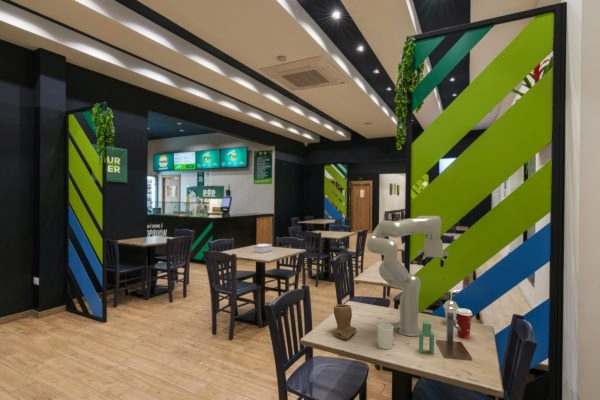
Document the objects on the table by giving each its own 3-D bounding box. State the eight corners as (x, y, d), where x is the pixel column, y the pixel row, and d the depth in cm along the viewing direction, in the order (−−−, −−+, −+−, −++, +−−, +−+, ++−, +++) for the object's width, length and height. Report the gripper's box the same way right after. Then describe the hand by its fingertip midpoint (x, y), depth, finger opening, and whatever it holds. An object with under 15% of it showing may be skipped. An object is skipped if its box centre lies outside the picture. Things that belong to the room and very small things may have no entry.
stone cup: (339, 326, 183) (339, 300, 183) (358, 331, 177) (359, 304, 176) (326, 336, 170) (326, 307, 170) (347, 342, 164) (347, 312, 164)
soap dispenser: (443, 320, 194) (443, 287, 193) (459, 323, 190) (460, 289, 189) (442, 325, 186) (443, 290, 186) (459, 328, 182) (460, 293, 182)
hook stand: (444, 358, 148) (445, 324, 148) (435, 342, 165) (436, 310, 165) (472, 361, 146) (473, 326, 146) (461, 344, 163) (462, 312, 162)
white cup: (383, 351, 155) (383, 330, 154) (373, 344, 162) (373, 324, 162) (396, 348, 158) (397, 328, 158) (386, 341, 165) (386, 322, 165)
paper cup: (473, 340, 167) (474, 313, 167) (457, 338, 169) (458, 312, 169) (469, 334, 175) (469, 308, 175) (453, 332, 176) (454, 307, 176)
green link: (420, 353, 153) (421, 323, 153) (418, 349, 157) (419, 320, 157) (433, 354, 152) (434, 324, 152) (431, 350, 156) (432, 321, 156)
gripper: (418, 237, 186) (418, 267, 186) (451, 238, 183) (450, 268, 183) (416, 235, 193) (416, 264, 194) (447, 236, 190) (446, 265, 190)
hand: (432, 266), depth 188 cm, fingers open, 9 cm apart
